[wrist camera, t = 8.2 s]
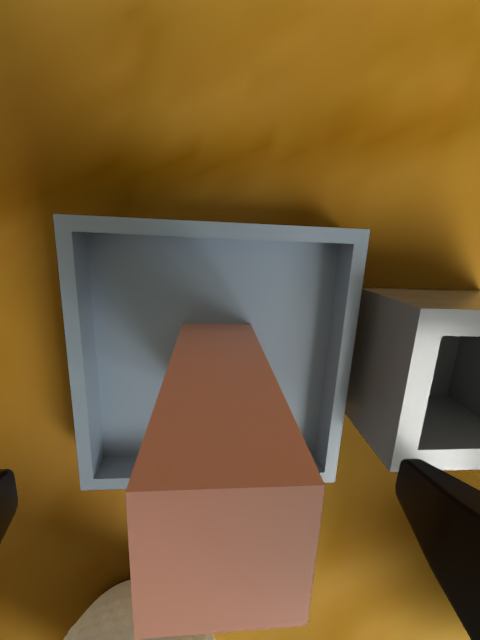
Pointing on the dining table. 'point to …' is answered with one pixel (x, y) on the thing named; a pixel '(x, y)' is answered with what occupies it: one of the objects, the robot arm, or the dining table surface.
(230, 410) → the peg
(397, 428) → the hollow square socket
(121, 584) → the mug
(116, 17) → the dining table surface
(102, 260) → the tray
